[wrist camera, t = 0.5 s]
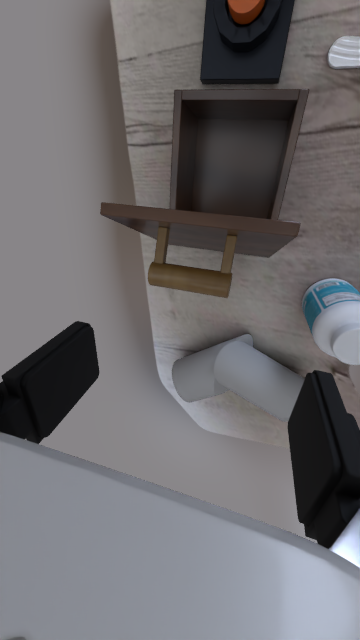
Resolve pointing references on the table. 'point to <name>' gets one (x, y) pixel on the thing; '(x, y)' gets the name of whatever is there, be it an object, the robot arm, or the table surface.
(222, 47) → the switch block
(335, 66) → the spoon
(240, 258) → the table surface
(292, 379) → the elbow connector
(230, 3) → the button
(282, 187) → the tea box
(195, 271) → the lid
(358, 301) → the pill bottle
